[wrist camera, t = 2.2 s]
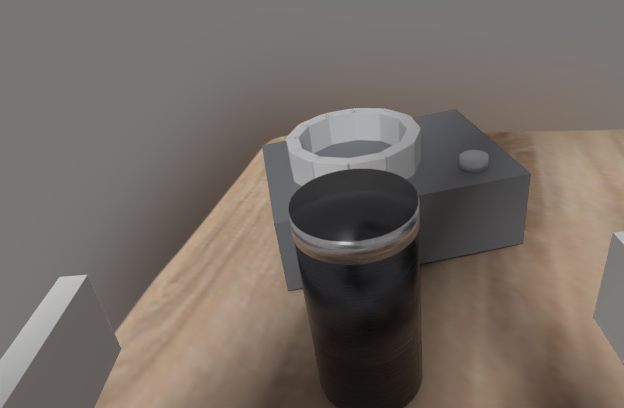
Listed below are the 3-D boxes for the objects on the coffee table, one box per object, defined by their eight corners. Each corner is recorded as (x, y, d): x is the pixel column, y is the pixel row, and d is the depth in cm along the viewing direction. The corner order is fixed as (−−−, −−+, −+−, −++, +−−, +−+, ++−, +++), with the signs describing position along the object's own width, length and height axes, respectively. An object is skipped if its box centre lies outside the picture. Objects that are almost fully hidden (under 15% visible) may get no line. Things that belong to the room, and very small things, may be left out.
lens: (404, 324, 32) (396, 159, 26) (438, 404, 27) (439, 222, 21) (312, 343, 32) (281, 181, 25) (328, 428, 26) (295, 250, 20)
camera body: (454, 167, 48) (456, 83, 44) (522, 243, 37) (534, 140, 33) (273, 202, 47) (256, 119, 43) (288, 290, 36) (267, 191, 32)
